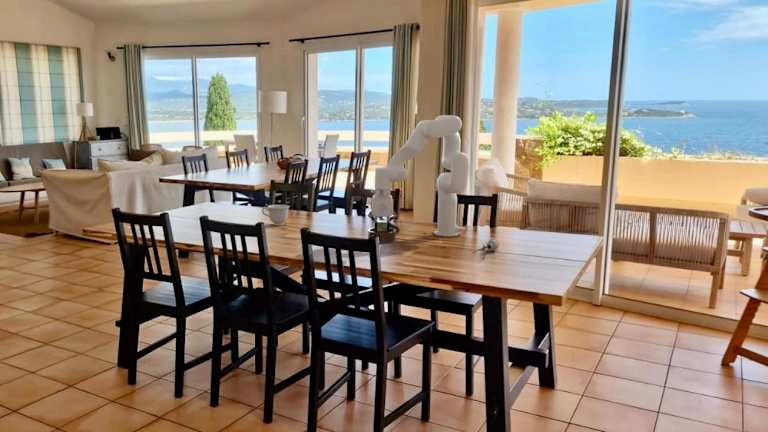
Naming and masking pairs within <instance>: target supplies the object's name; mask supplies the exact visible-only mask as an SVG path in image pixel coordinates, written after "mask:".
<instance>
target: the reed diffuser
mask: <svg viewBox="0 0 768 432" xmlns="http://www.w3.org/2000/svg"><path fill="white" fill-rule="evenodd" d="M499 247H500V243H499V242H498V241H497V240H496V239H489V241H487V243H486V245H485V244H482V248H481V249H477V250H475V251H472V254H473V253H476V252H479V251H481V250H486V252H485V253H484V256H483V258H482V260H484V259H485V257H486V255H487V253H488V251H490V252H494V251H496V250H498V249H499Z"/></svg>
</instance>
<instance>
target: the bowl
mask: <svg viewBox="0 0 768 432" xmlns="http://www.w3.org/2000/svg"><path fill="white" fill-rule="evenodd" d="M372 235H374V236H378V237H379V241H380V243H379V244H391V243H394V242H395V241H397V240H396V239H397V233H396V230H395V229H392V228H389V229H388V231H376V229H374V227H371V228H368V229H367V238H368V237H370V236H372Z"/></svg>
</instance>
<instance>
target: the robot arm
mask: <svg viewBox="0 0 768 432" xmlns="http://www.w3.org/2000/svg"><path fill="white" fill-rule="evenodd" d="M462 126H463V122H462V120H461V117H459V116H457V115H453V114H451V115H449V114H442V115H438V116H436V118H435V119H423V120H420V121H419V122H418V123H417V125H416V127H415V128H414V129H413V131H412V133H411V134H410V136H409V138H408V139H407V140H406V142H405V144H404V145H403V146H402V147H400V148H399V149H398V150H397V151H396V152H395V153H394V154H393V155H392V157H391V158H390V159H389V161H388V163H387V164H386V166H376V167H375V168H374V188H373V189H371V194H373V195H372V199H371V209H370V210H369V212H368V213H367V214H366V216H367V217H368V218H369V219H371V221H372V222H373V223H374V224H373V228H374V229H376V231H377V220H378V218H386V221H387V231H388V229H389V224H390V223H391V222H392V220H394V219H395V218H397V217H398V215H397V213H396V212H395V210H394V201H393V200H394V199H393V196H392V195H391V184H392V183H391V182H394V183H402V182H405V181H406V180H407V179H408V177H409V172H408V170H407V169H406V167H403V166H404V165H405V164H406V163H407V162H409V161H410V160H412V159H413V158H416V157H418V156H419V155H420V154H421V153H422V151H423V149H424V148H425V147H426V145H427V143H428V142H429V140H430V139H439V138H442V141H443V145H442V146H443V147H442V156H441V165H442V167H443V168H444V169H445V170H448V171H451V172H443V173H441V174H439V176H438V177H437V179H436V180H437V181H436V188H437V198H438V199H437V227H436V228H437V229H436V230H434V231H433V234H434V235H435V236H438V237H444V238H445V237H446V238H447V237H448V238H449V237H452V238H453V237H457V236H459V235H460V232H466V227H462V226H458V225H457V216H458V215H457V214H458V196H457V195H459V194H462V193H463V192H465V190H466V189H467V187H468V183H469V173H470V159H469V156H468V155H467V153H465V152H462V151H461V146H462V145H461V144H462V143H461V142H462V141H461V140H462V139H461V136H460V131H461V129H462Z"/></svg>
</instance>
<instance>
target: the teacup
mask: <svg viewBox="0 0 768 432" xmlns="http://www.w3.org/2000/svg"><path fill="white" fill-rule="evenodd" d="M289 208H290V205H288V204H269V205H267V206H263V207H262V208H261V213H262V215H264V216H267V217H268V218H269V219H270V222H272V223H273V225H274V226H284V225H285V222H286V221H287V220H288V215H289ZM264 210H266V212H268V213H265V211H264Z"/></svg>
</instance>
